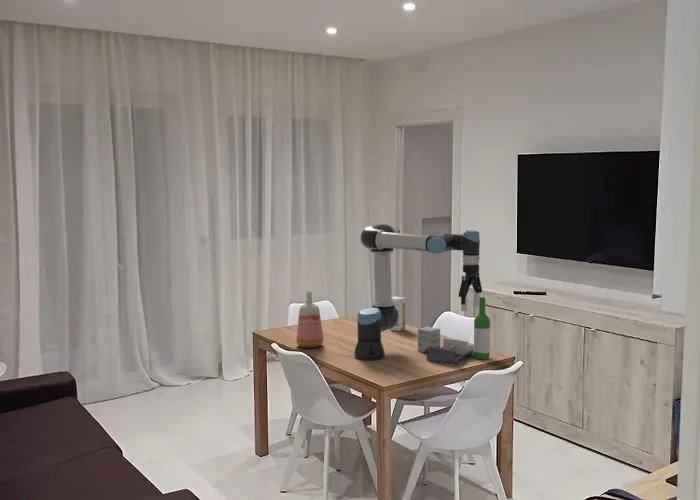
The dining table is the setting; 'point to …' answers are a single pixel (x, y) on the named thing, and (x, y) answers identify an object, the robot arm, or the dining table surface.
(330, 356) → the dining table surface
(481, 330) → the wine bottle
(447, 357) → the dark grey tray
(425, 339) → the ink box
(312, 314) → the vase
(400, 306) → the juice carton
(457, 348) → the block
